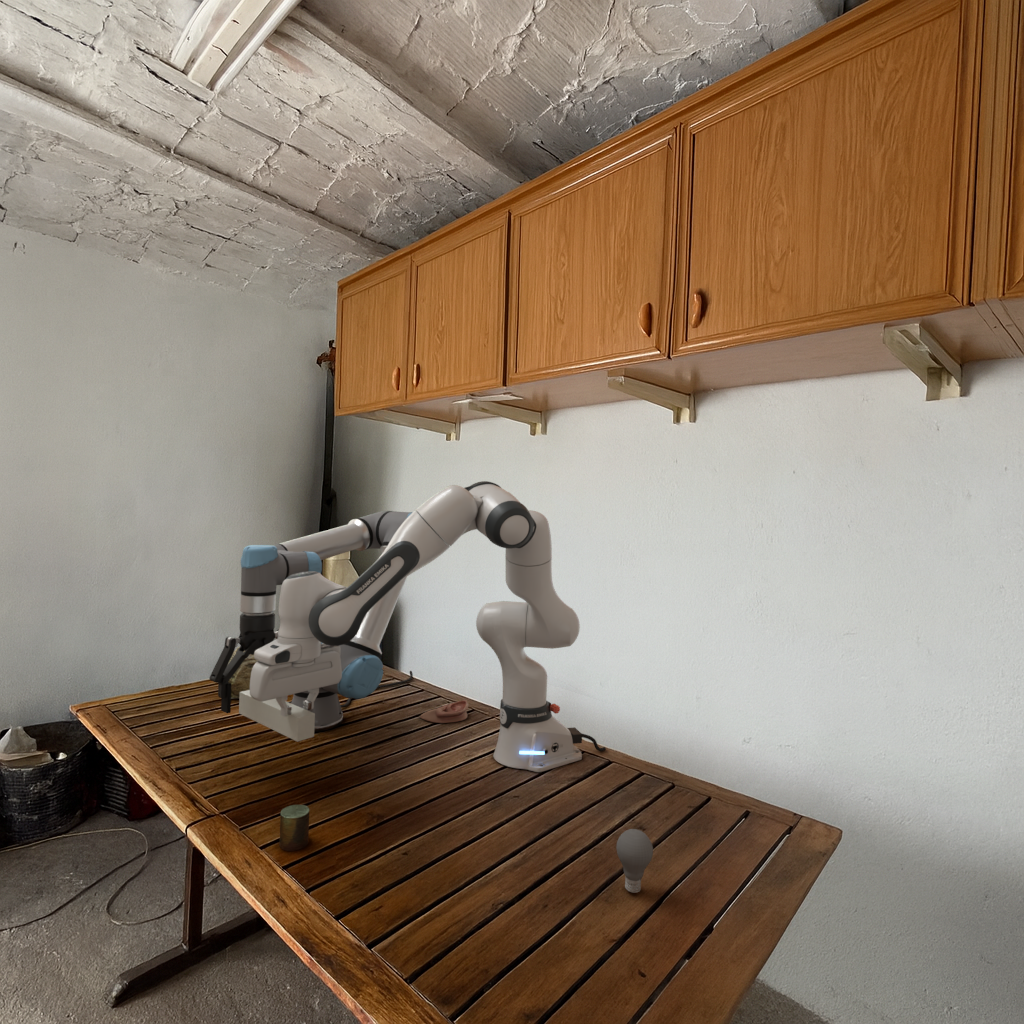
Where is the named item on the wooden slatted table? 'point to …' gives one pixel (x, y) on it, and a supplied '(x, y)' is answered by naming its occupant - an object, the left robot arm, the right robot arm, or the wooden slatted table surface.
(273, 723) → the bar
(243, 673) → the fossil
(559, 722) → the right robot arm
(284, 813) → the sage tin
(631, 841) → the light bulb
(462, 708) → the anatomical model
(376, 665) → the left robot arm
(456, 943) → the wooden slatted table surface
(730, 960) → the wooden slatted table surface
